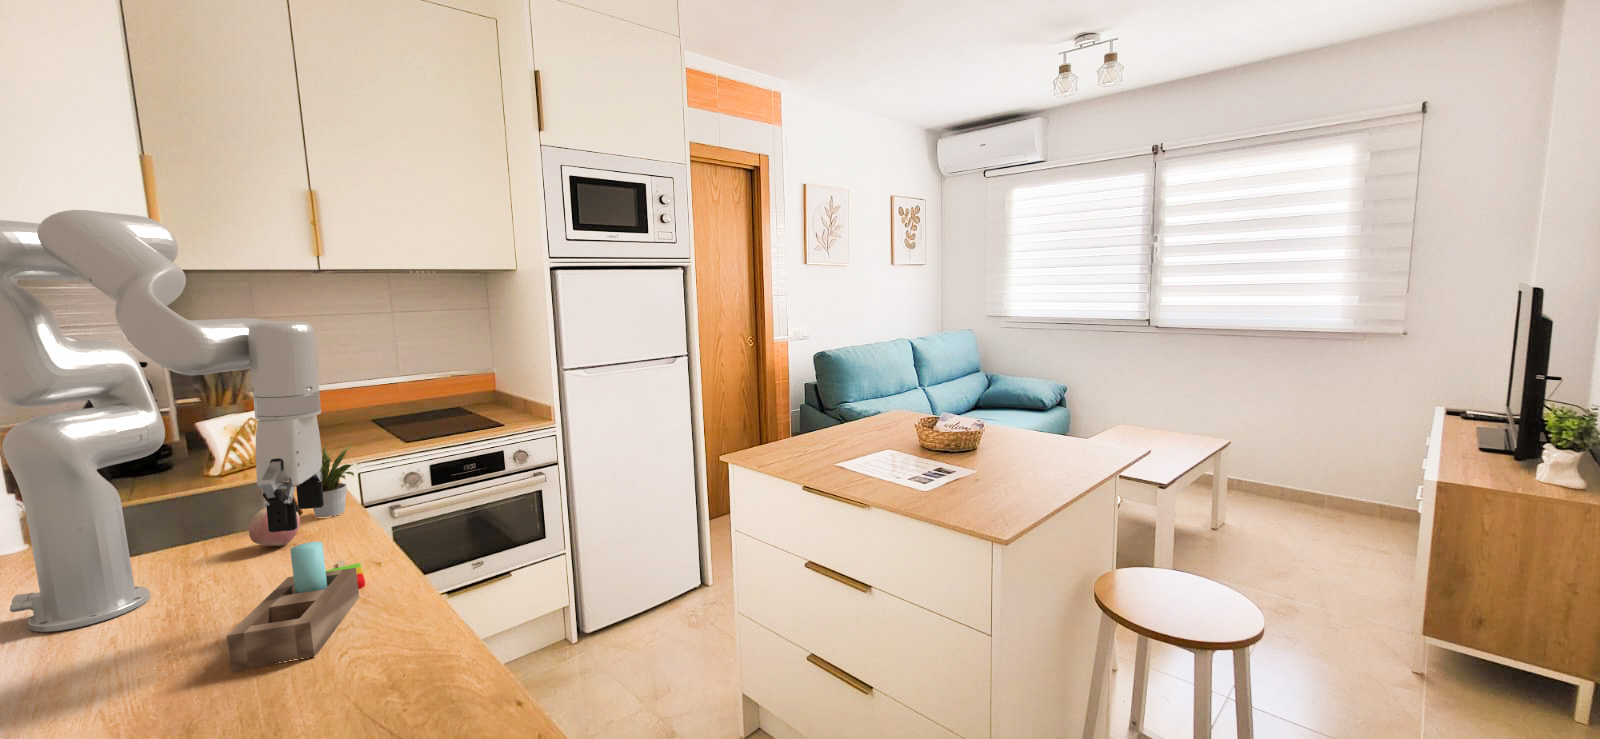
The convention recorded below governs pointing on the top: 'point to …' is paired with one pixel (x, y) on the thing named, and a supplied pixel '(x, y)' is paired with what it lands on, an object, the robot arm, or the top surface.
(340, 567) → the popsicle
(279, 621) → the socket block
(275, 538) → the apple
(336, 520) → the top surface
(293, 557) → the dowel
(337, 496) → the house plant
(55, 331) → the robot arm
